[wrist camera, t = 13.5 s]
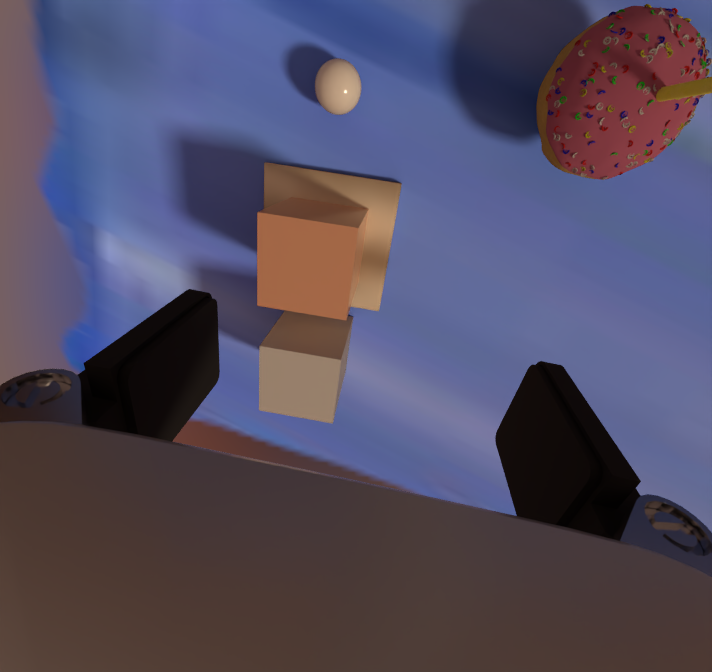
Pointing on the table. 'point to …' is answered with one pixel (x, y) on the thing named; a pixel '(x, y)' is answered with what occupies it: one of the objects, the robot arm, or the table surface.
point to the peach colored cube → (309, 256)
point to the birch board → (348, 192)
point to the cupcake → (622, 92)
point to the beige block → (304, 365)
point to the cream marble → (338, 86)
